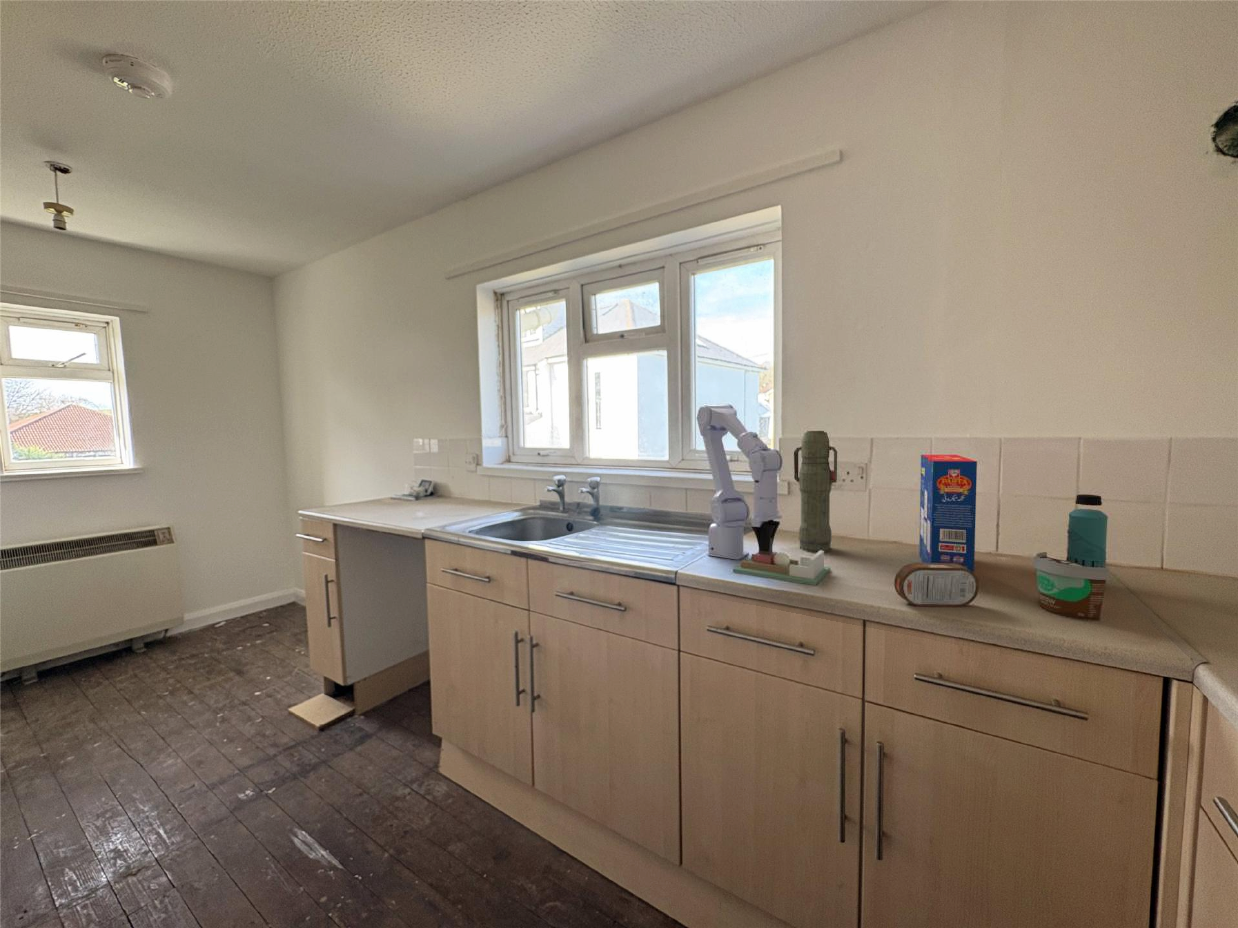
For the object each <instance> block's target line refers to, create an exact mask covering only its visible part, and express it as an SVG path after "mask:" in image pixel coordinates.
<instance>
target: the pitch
mask: <svg viewBox="0 0 1238 928" xmlns="http://www.w3.org/2000/svg"><path fill="white" fill-rule="evenodd" d="M755 554H756V553H751V557H750V558H748V559H747V560H744V559H743V560H741V561H740V563H739V564H738V565H736V566H735V567H734V568H732V573H736V572H737V574H742V575H743V574H744V575H748V576H754V577H763V578H766V579H772V580H773V579H774V580H778V581H787V582H791V581H792V582H793V583H799V584H804V583H806V584H805V585H810V584H811V585H812V586H817V585H816V584H817V583H818V582H819V583H820V582H821V580H823V579H824V577H826V575H828V573H829V572H830V571H831V566H830V567H829V566H824V569H823V570H822V571H821V572H820V573H819V574H818V575H817V576H816V577H815V578H814V579H810V578H804V577H797V576H791V575H789V565H790V564H792V565H799V566H800V562H799V559H793V558H789V559H790V563H789V565H788V566H787V567H785V566H778V565H771V564H764V563H758V562H754V555H755ZM811 585H810V586H811Z"/></svg>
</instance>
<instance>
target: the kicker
mask: <svg viewBox="0 0 1238 928" xmlns="http://www.w3.org/2000/svg"><path fill="white" fill-rule="evenodd" d="M776 553H778V552H776V551H773V545H772V538H771V540H770V547H769V551H768V552H766V551H760V549H759V548H758V552H756V553H754V554H755V555H754V562H758V563H764V564H771V565H775V564H774V563H773V557H774V555H775V554H776Z"/></svg>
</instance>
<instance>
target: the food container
mask: <svg viewBox="0 0 1238 928" xmlns="http://www.w3.org/2000/svg"><path fill="white" fill-rule="evenodd" d="M1047 552H1048V551H1044V552H1043V551H1042V552H1038V553H1036V555H1035V556H1034V558H1033V560H1032V563H1031V565H1032V567H1033V568H1035V569H1036V579H1037V593H1038V605H1039V608H1040V609H1041V610H1043V611H1045V612H1047V613H1050V614H1052V615H1057V616H1060V617H1063V618H1064V617H1065V618H1067V619H1068V618H1070V619H1075V620H1081V621H1100V619H1101V614H1102V607H1103V601H1104V594H1105V590H1106V589H1105V588H1106V583H1107V581H1108V580H1109V581H1110V580H1111V576H1110V575H1111V574H1110V571H1109V570H1108V567H1107V566H1106V567H1105V568H1097V567H1086V566H1083V565H1081V564H1079V563H1076V562H1072V561H1066V560H1062V559H1057V558H1054V557H1050V556H1048V554H1047Z"/></svg>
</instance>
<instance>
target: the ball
mask: <svg viewBox="0 0 1238 928" xmlns="http://www.w3.org/2000/svg"><path fill="white" fill-rule="evenodd" d="M790 559H791V558H790V557H789V555H788V554H787V553H785V552H781V551H780V552H777V553H776V554H775V555H774V557H773V563H774V564H775V565H778V566H785V567H787V566H788V565H789V563H790Z"/></svg>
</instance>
